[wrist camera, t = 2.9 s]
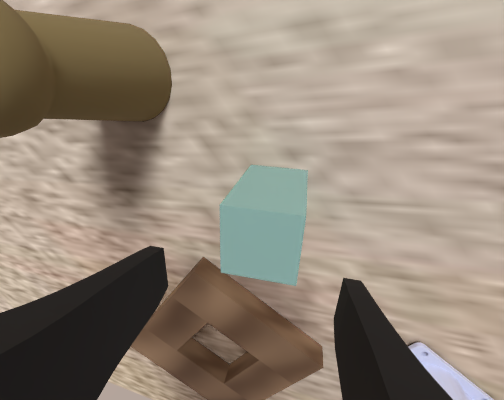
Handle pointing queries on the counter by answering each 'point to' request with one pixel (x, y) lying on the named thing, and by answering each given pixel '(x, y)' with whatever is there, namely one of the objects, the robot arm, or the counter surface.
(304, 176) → the teal peg
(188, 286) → the walnut socket block
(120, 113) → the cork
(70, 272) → the counter surface
